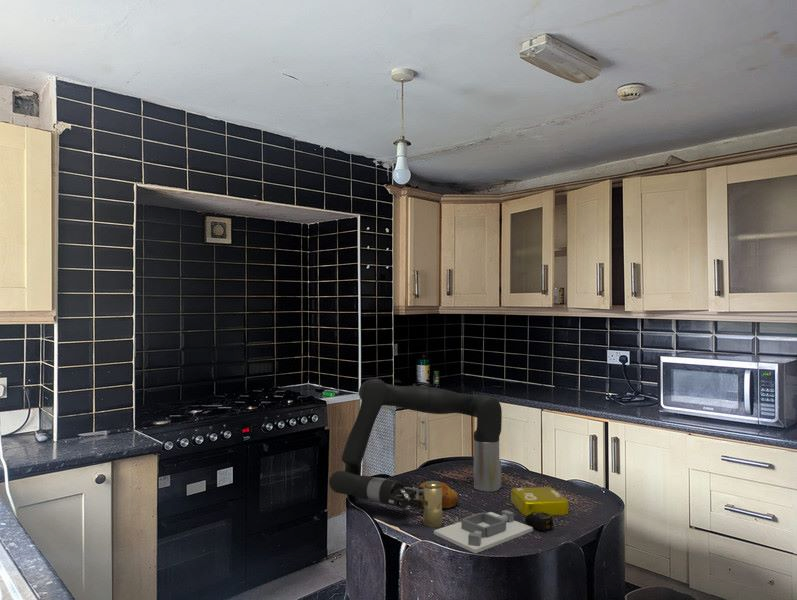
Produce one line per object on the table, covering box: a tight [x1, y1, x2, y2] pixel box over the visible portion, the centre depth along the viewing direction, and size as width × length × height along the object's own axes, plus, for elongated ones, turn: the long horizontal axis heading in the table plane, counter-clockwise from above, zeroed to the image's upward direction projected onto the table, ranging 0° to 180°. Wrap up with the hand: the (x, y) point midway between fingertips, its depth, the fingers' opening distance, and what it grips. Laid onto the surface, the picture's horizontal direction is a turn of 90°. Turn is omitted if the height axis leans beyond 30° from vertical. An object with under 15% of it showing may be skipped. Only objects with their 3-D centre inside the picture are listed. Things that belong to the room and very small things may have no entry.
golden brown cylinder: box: [423, 480, 443, 528], centre depth 160 cm, size 6×6×12 cm
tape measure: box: [524, 512, 554, 532], centre depth 157 cm, size 7×7×4 cm
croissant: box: [415, 481, 459, 509], centre depth 178 cm, size 15×16×8 cm
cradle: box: [433, 509, 534, 554], centre depth 153 cm, size 24×16×4 cm, turn 128°
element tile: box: [510, 486, 570, 517], centre depth 174 cm, size 15×15×5 cm
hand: (429, 500), depth 161 cm, fingers open, 8 cm apart
